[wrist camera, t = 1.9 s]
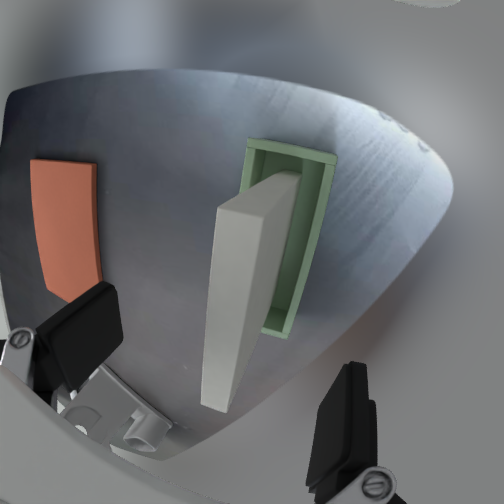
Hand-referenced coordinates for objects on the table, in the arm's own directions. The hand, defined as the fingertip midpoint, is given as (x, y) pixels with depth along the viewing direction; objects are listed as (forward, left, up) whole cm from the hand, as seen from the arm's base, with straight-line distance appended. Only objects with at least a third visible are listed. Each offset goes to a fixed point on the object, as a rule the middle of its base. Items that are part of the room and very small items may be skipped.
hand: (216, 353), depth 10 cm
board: (0, 0, -12) cm, 12 cm away
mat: (+7, -26, -13) cm, 30 cm away
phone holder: (+37, -19, -13) cm, 43 cm away
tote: (0, 0, -13) cm, 13 cm away
